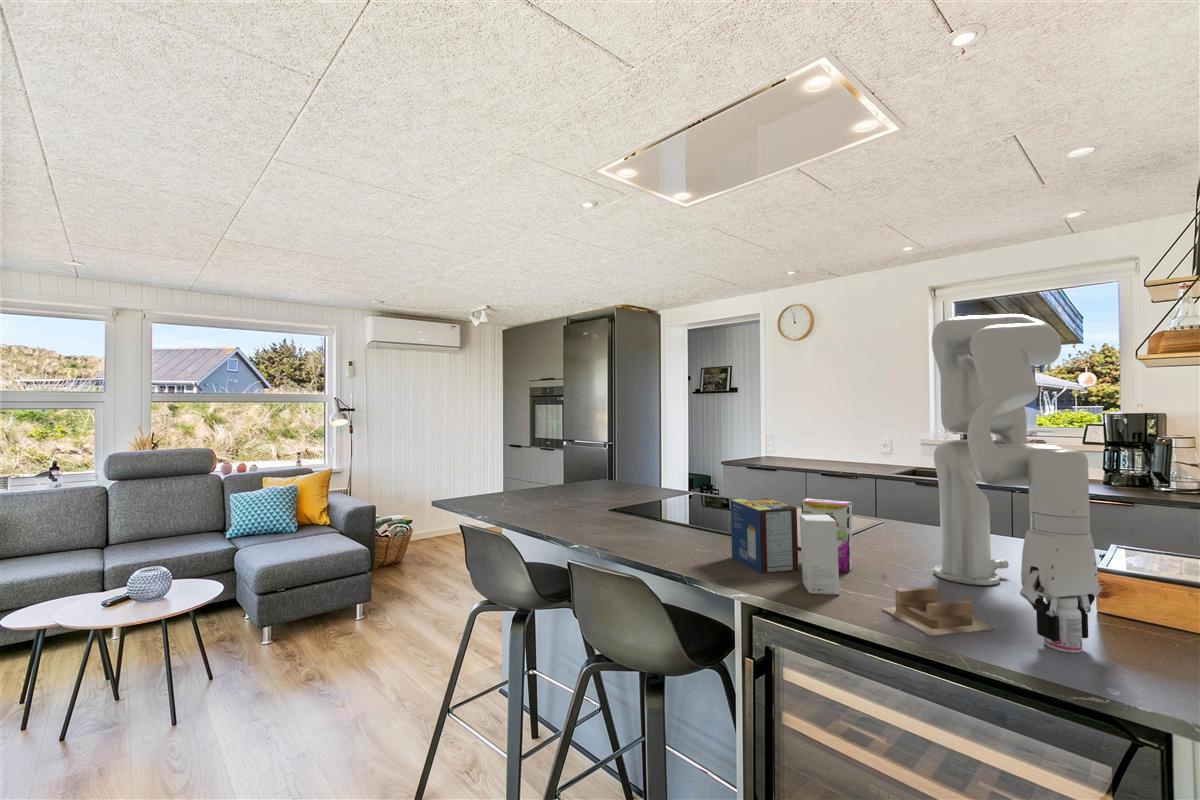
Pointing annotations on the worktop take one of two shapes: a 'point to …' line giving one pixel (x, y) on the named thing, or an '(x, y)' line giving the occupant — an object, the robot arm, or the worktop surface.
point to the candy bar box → (843, 519)
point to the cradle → (934, 612)
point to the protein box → (764, 535)
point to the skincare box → (819, 554)
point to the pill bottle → (1067, 626)
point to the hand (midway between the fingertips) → (1062, 635)
